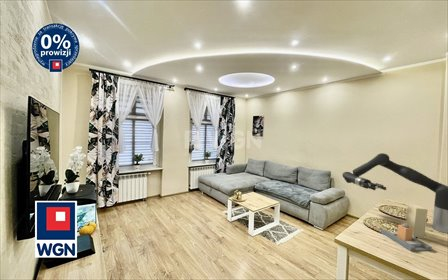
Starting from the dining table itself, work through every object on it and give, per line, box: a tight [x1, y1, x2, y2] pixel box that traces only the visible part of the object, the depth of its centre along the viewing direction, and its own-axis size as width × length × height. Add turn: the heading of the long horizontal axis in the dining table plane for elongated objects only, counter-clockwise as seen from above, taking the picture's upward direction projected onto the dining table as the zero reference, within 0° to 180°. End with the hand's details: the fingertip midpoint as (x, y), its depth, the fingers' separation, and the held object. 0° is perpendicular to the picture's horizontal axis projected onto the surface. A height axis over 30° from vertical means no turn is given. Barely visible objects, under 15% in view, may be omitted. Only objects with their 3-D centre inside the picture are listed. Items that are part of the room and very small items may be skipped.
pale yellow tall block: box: [405, 203, 428, 239], centre depth 130 cm, size 8×7×21 cm
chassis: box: [380, 228, 433, 252], centre depth 123 cm, size 20×14×2 cm
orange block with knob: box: [397, 223, 413, 241], centre depth 122 cm, size 5×5×11 cm
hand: (380, 188), depth 138 cm, fingers open, 8 cm apart
